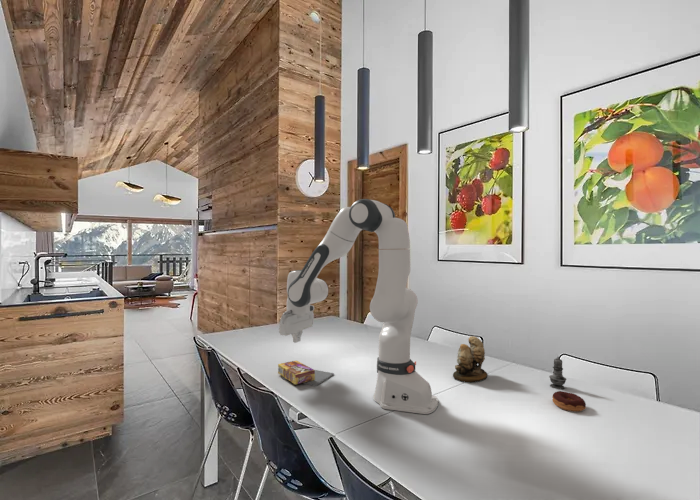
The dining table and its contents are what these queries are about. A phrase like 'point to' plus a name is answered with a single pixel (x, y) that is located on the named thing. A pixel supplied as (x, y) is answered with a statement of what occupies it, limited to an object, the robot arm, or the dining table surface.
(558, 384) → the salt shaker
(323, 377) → the mat
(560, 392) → the donut
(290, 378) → the candy box
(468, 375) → the owl figurine
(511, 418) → the dining table surface
